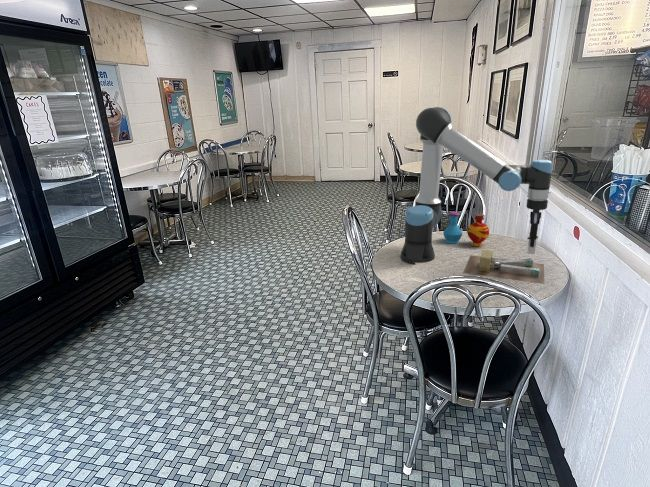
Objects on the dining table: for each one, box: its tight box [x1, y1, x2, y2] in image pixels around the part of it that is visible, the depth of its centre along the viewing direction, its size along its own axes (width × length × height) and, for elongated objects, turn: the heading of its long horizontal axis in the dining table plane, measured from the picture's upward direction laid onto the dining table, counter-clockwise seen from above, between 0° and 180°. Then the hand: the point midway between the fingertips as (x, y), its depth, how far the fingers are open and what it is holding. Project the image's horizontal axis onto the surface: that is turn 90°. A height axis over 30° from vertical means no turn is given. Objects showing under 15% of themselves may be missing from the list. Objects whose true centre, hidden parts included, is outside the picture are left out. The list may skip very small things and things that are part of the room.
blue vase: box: [442, 211, 463, 244], centre depth 196 cm, size 9×9×15 cm
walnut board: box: [463, 255, 546, 285], centre depth 161 cm, size 29×21×1 cm
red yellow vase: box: [466, 213, 490, 247], centre depth 190 cm, size 10×10×15 cm
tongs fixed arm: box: [477, 261, 539, 277], centre depth 158 cm, size 23×4×3 cm, turn 63°
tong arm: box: [492, 258, 534, 268], centre depth 161 cm, size 17×4×3 cm, turn 93°
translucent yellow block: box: [479, 249, 494, 272], centre depth 162 cm, size 4×9×6 cm, turn 153°
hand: (530, 253), depth 167 cm, fingers closed
